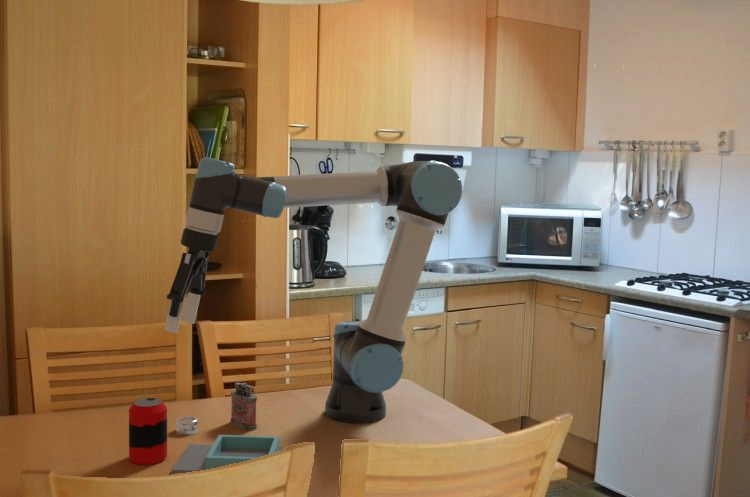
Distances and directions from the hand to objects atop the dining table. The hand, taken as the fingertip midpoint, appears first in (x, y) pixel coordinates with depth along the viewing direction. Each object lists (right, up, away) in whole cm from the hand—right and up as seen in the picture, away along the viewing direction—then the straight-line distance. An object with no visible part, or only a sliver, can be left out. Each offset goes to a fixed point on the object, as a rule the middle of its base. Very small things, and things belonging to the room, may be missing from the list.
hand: (179, 326), depth 169 cm
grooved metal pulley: (-1, -25, +11) cm, 28 cm away
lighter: (+11, -25, +16) cm, 32 cm away
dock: (+12, -27, -7) cm, 30 cm away
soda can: (-5, -27, -6) cm, 28 cm away
